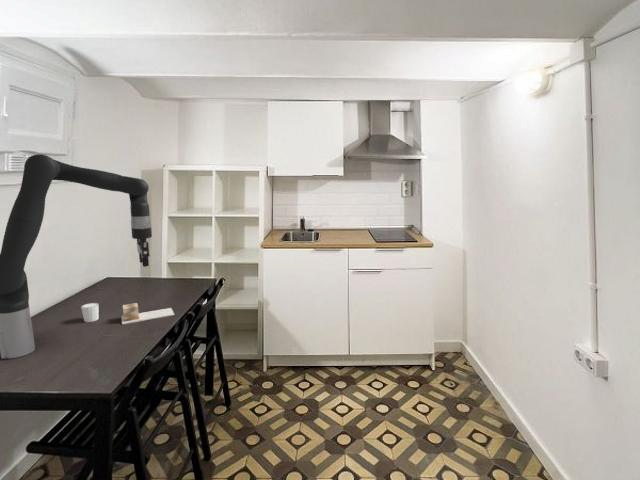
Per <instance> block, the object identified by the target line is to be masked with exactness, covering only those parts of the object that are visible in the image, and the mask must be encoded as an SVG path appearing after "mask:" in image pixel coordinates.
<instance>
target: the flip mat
mask: <svg viewBox="0 0 640 480" xmlns="http://www.w3.org/2000/svg"><path fill="white" fill-rule="evenodd" d="M171 316H175V313H174V310H173V309H172V307H168V308H162V309H156V310H151V311H150V310H149V311H144V312H139V319H137V320H131V321H125V322H124V315H122V316H121V325H128V324H134V323H138V322H139V323H140V322H143V321H149V320H155V319H162V318H166V317H167V318H168V317H171Z"/></svg>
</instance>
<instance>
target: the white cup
mask: <svg viewBox="0 0 640 480" xmlns="http://www.w3.org/2000/svg"><path fill="white" fill-rule="evenodd" d="M99 305H100V303H98V302H92V303H91V302H90V303H89V302H88V303H86V304H83V305H81V306H80V309H81V313H82V317H83V321H84V323H85V322H86V323H90V322H91V323H92V322H96V321H97V320H99V316H100V315H99V313H100V312H99Z"/></svg>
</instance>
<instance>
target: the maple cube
mask: <svg viewBox="0 0 640 480" xmlns="http://www.w3.org/2000/svg"><path fill="white" fill-rule="evenodd" d="M122 311H123V313H122V315H123V316H124V322H125V321H131V320H137V319H139V313H140V312H139V305H138V302H135V303H134V302H133V303H129V304H127V303H126V304H123V305H122Z"/></svg>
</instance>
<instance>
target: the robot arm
mask: <svg viewBox="0 0 640 480" xmlns="http://www.w3.org/2000/svg"><path fill="white" fill-rule="evenodd" d="M53 181H63V182H70V183H74V184H75V183H76V184H81V185H84V186H89V187H90V188H91V187H92V188H96V189H100V190H105V191H110V192H119V193H124V194H128V196H129V203H130V229H131V238H132V239H133V240H136V241H137V242H136V246H137V247H136V249H137V253H138V256H139V263H141V264H142V267H145V268H146V267H149V264H150V263H149V257H150V247H149V245H150V244H149V242H148V241H147V239H150V238H152V237H153V230H152V220H151V214H150V206H149V203H148V192H149V189H150V187H149V184H148V183H147V182H146V180H145V179H142V178H138V177H133V176H132V177H131V176H125V175H121V174H118V173H113V172H109V171H103V170H99V169H95V168H94V169H93V168H87V167H81V166H75V165H71V164H68V163H65V162H61V161H59V160H56V159H54V158H52V157H50V156H48V155H45V154H40V153H38V154H33V155H31V156H29V157H28V158H27V159H26V161H25V162H24V167H23V174H22V180H21V184H20V188H19V189H20V190H19V192H18V194H17V196H16V199H15V201H14V203H13V205H12V208H11V211H10V214H9V217H8V220H7V223H6V226H5V231H4V235H3V240H2V244H1V250H0V358H1V360H3V359H16V358H21V357H23V356H24V357H25V356H27V355H30V354H31V353H33V352H34V351H35V350H36V344H35V338H34V332H33V323H32V317H31V309H30V304H29V299H30V298H29V297H30V294H29V292H30V291H29V285H28V278H27V274H26V271H25V265H26V261H27V260H28V259H27V258H28V256H29V254H30V252H31V251H32V248H34V245H35V243H36V241H37V238H38V235H39V233H40V230H41V228H42V224H43V221H44V216H45V208H46V207H45V206H46V197H47V193H48V191H49V189H50V186H51V184H52V182H53Z"/></svg>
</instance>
